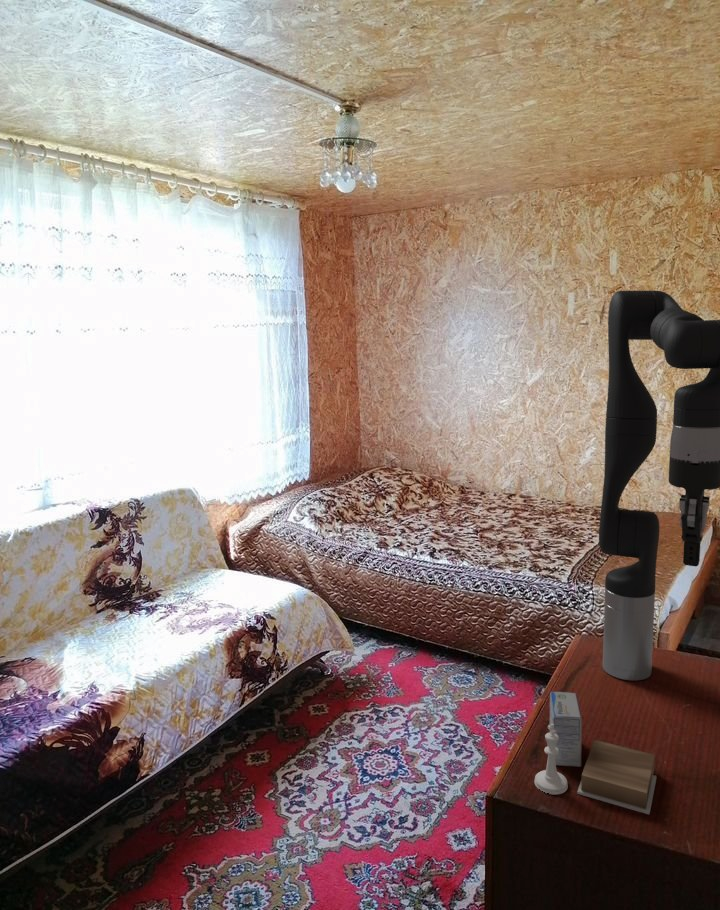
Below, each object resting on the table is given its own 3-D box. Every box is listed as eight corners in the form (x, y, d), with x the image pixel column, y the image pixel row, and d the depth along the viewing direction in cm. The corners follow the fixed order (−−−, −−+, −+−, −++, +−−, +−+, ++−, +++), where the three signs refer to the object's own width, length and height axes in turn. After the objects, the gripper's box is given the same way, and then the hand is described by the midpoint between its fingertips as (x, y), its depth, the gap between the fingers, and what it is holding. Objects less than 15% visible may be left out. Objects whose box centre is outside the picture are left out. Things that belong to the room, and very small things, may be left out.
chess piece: (545, 797, 101) (546, 736, 99) (528, 777, 105) (529, 718, 104) (574, 790, 102) (576, 730, 100) (556, 771, 107) (557, 712, 105)
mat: (589, 760, 109) (589, 758, 109) (656, 778, 104) (656, 775, 104) (577, 793, 101) (577, 791, 101) (649, 814, 96) (649, 812, 96)
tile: (594, 739, 109) (581, 775, 101) (654, 754, 105) (646, 793, 96) (593, 754, 110) (581, 791, 101) (653, 770, 106) (646, 809, 97)
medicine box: (581, 768, 107) (582, 718, 106) (552, 765, 108) (553, 716, 107) (575, 739, 115) (577, 692, 113) (548, 737, 116) (549, 690, 114)
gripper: (674, 446, 110) (669, 549, 113) (665, 460, 99) (659, 574, 102) (726, 449, 106) (720, 555, 109) (723, 464, 95) (716, 582, 98)
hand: (691, 564), depth 105 cm, fingers closed
